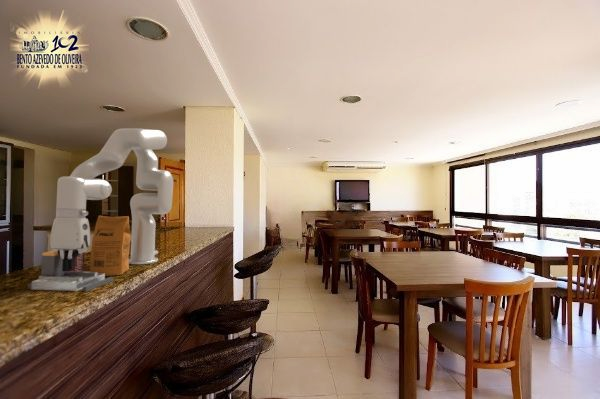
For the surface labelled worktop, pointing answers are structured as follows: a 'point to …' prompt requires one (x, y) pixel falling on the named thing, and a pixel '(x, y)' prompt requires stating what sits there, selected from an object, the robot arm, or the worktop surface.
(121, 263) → the coffee package
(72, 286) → the breaker panel
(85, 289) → the grey thin bar
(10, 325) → the worktop surface
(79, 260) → the soda can
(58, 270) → the grey block
